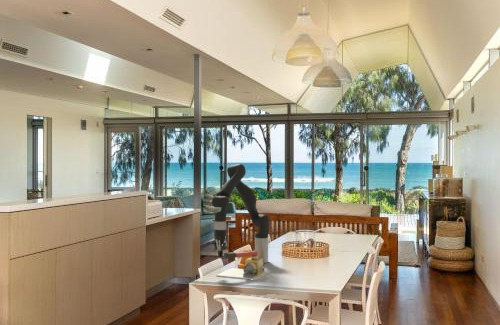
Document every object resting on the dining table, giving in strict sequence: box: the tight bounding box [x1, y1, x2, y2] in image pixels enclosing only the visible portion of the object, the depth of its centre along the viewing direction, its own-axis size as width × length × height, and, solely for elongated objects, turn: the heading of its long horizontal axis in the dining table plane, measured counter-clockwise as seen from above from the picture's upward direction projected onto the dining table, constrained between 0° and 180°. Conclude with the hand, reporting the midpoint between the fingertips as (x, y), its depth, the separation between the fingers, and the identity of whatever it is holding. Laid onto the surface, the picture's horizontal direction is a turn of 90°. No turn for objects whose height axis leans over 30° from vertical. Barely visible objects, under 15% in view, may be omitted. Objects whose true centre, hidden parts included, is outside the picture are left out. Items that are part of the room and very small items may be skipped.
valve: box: [243, 256, 265, 278], centre depth 310 cm, size 22×8×11 cm, turn 158°
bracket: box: [237, 248, 252, 269], centre depth 331 cm, size 11×7×12 cm, turn 72°
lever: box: [223, 250, 258, 260], centre depth 306 cm, size 22×4×3 cm, turn 117°
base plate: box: [216, 267, 270, 281], centre depth 312 cm, size 22×26×1 cm
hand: (220, 256), depth 310 cm, fingers closed
